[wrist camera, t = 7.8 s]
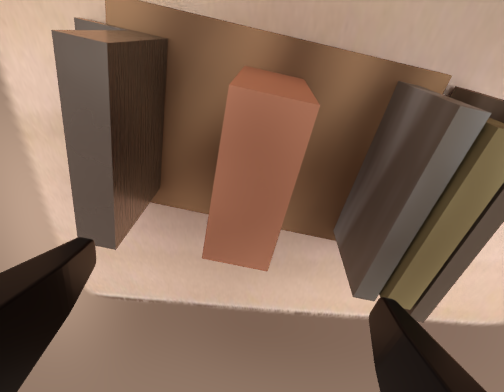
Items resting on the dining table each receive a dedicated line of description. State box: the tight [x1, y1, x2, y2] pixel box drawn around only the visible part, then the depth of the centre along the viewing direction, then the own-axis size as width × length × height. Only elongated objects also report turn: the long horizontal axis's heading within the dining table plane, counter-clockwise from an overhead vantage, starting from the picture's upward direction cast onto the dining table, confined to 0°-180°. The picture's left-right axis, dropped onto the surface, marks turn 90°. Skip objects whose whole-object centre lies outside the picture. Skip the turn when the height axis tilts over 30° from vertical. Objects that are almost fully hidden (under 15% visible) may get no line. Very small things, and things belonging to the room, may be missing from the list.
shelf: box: [105, 0, 504, 322], centre depth 17 cm, size 22×13×8 cm, turn 78°
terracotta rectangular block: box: [202, 66, 320, 271], centre depth 16 cm, size 4×9×7 cm, turn 168°
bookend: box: [52, 18, 168, 250], centre depth 16 cm, size 5×10×7 cm, turn 168°
